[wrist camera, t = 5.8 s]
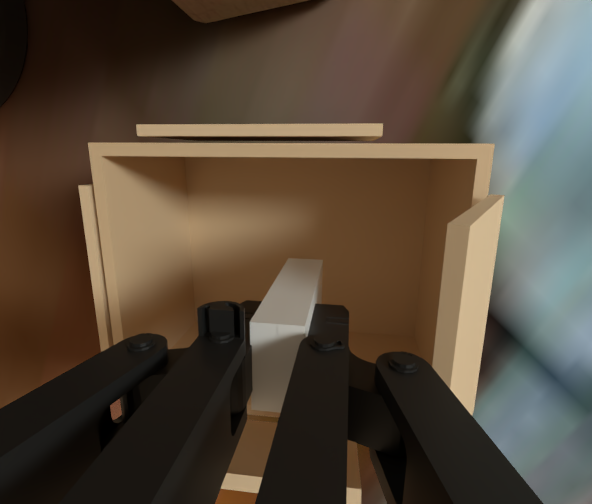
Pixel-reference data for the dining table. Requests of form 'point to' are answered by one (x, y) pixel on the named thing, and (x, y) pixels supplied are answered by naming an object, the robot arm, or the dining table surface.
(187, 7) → the wooden block
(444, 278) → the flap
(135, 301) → the carton
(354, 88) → the dining table surface
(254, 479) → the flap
